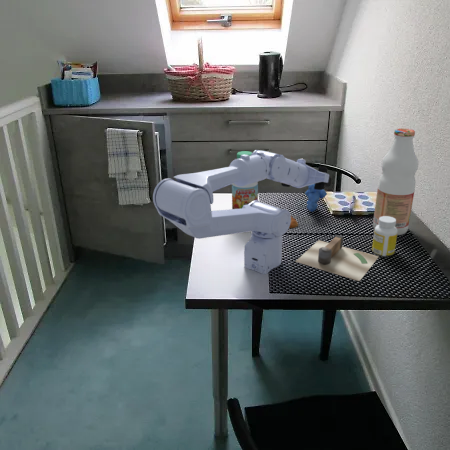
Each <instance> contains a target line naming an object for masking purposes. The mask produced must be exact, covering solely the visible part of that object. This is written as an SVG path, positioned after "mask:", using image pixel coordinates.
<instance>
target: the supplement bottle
mask: <svg viewBox="0 0 450 450" xmlns="http://www.w3.org/2000/svg"><path fill="white" fill-rule="evenodd" d="M378 224H379V225H377V226H376V227H375V229H374V230H373V238H372V239H373V240H372V245H371V251H372V253H374V255H376V256H379V257H392V256H393V255H395V251H396V245H397V240H398V239H397V237H398V235H397V232H398V231H397V228H396V227H395V225H396V219H395V218H393V217H390V216H382V217H380V218H379V221H378Z"/></svg>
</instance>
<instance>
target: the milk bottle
mask: <svg viewBox="0 0 450 450" xmlns="http://www.w3.org/2000/svg"><path fill="white" fill-rule="evenodd" d="M252 153H253V152H252V151H247V150H246V151H245V150H242V151H238V152H237V153H236V159H239V158H240V157H241V155H244V154H245V155H249V156H250V155H251V154H252ZM258 182H259V181H258ZM258 182H255V183H252V184H248V185H245V186H237V185H236V184H234V183H233V184H231V209H242V207H243V205H248V204H250V203H251V202H252V201H254V200H257V201H259V183H258Z"/></svg>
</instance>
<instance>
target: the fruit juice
mask: <svg viewBox="0 0 450 450" xmlns="http://www.w3.org/2000/svg"><path fill="white" fill-rule="evenodd" d="M415 135H416V131H415V130H414V129H412V128H404V127H403V128H396V129H394V132H393V136H394V140H393V141H392V144H391V146H390V147H389V149H388V151H387V152H386V154H385V155H384V156H383V157H382V159H381V175H380V176H379V179H378V183H377V191H376V199H375V205H374V214H373V220H372V228H373V229H374V230H375V227H376V226H377V225H379V224H378V221H379V218H380V217H382V216H390V217H393V218H395V219H396V225H395V227H396V228H397V231H398V232H397V236H401V235H405V234H406V233H407V232H408V230H409V225H410V220H411V213H412V208H413V202H414V197H415V196H414V195H415V191H416V185H417V184H416V181H417V180H416V177H415V176H416V173H417V171H418V168H419V159H418V157H417V155H416V153H415V149H414V148H415V147H414V141H413V139H414V138H415Z"/></svg>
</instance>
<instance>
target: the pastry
mask: <svg viewBox="0 0 450 450" xmlns="http://www.w3.org/2000/svg"><path fill="white" fill-rule="evenodd" d="M298 226H299V223H298V221H297V220H296V218H294V217H293V216H292V215H291V223H290V226H289V228H288V229H295V228H297V227H298Z"/></svg>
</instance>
